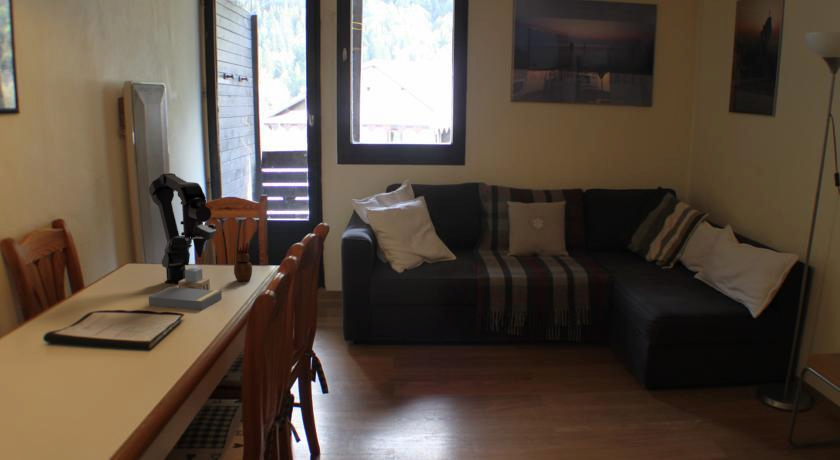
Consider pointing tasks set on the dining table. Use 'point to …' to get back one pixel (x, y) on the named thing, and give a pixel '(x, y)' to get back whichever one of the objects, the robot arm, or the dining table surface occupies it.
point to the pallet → (195, 284)
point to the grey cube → (193, 275)
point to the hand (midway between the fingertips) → (193, 260)
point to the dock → (185, 298)
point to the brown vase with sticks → (243, 265)
